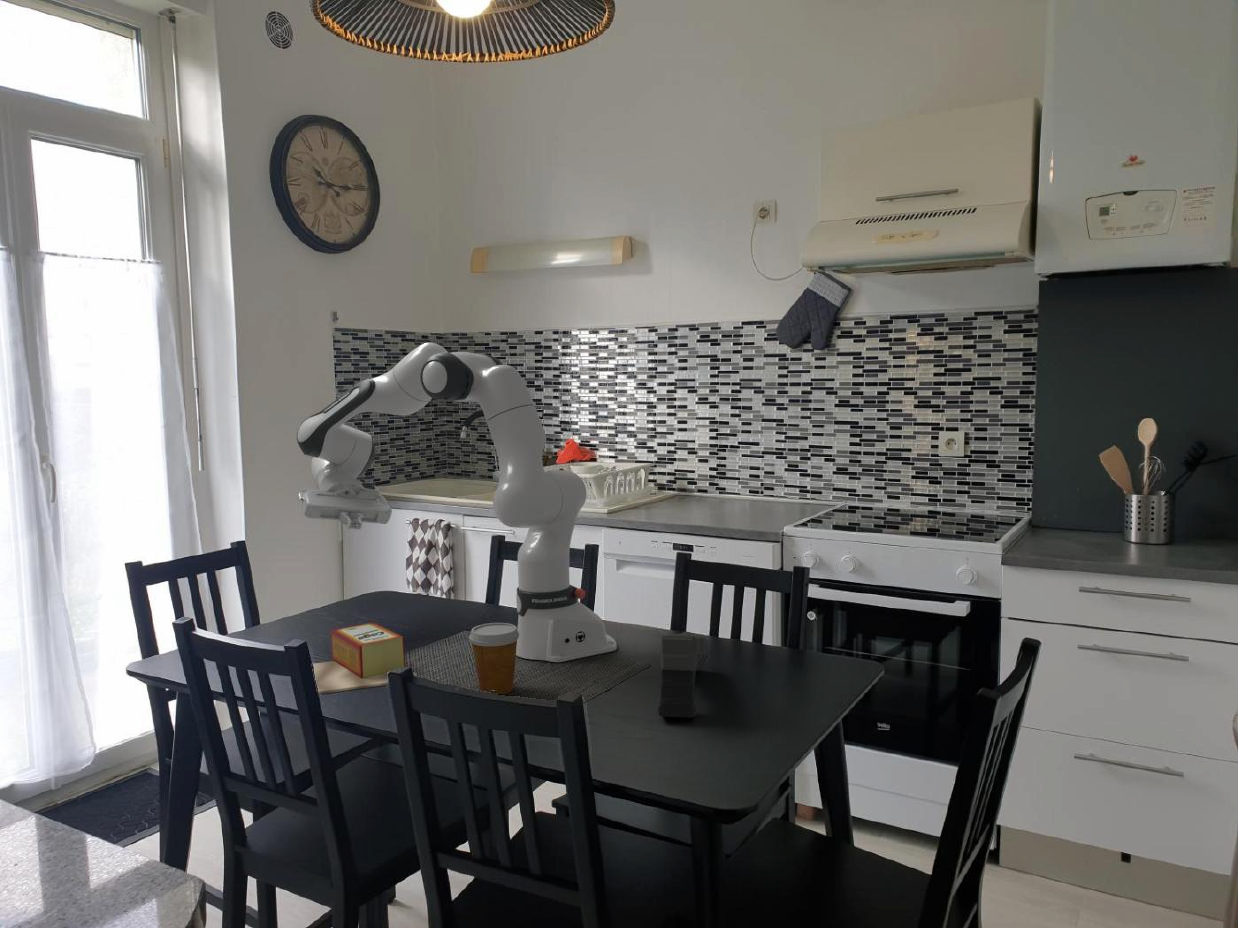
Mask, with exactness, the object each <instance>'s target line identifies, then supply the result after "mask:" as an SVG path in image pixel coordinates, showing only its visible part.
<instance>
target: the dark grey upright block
mask: <svg viewBox="0 0 1238 928" xmlns="http://www.w3.org/2000/svg"><path fill="white" fill-rule="evenodd" d="M660 639H661V643H660V644H661V645H660V694H659V706H658V713H657V714H658V716H659V717H664V718H665V717H667V718H669V717H670V718H682V719H683V718H686V719H687V718H688V719H692V718H695V717H696V715H697V708H696V707H695V698H696V689H695V681H696V673H697V672H698V671H699V672H700V671H702V670H703V667H704V666H705V664H706V663H705V662H706V660H707V658H708V654H709V647H708V646H709V640H708V639H706V638H705V637H703V636H701V635H698V634H695V633H692V632H689V631H684V632H681V633H675V634H670V635H662V636H661V637H660Z"/></svg>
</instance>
